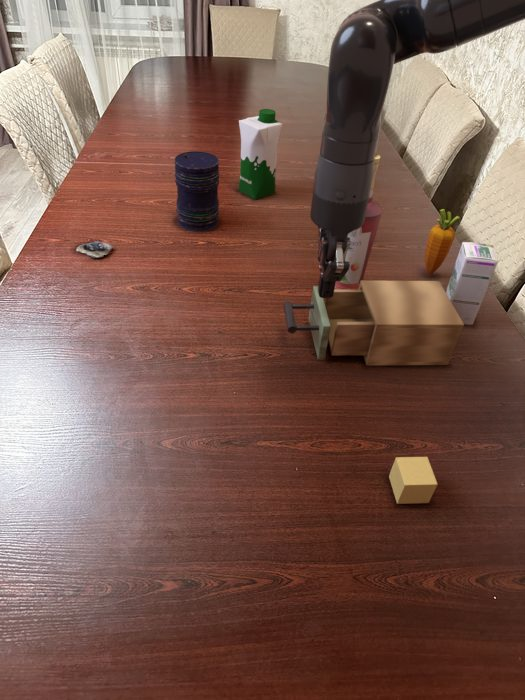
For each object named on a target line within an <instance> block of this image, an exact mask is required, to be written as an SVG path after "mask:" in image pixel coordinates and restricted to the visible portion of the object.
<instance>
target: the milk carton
mask: <svg viewBox="0 0 525 700" xmlns="http://www.w3.org/2000/svg"><path fill="white" fill-rule="evenodd" d="M276 115H277V114H276V110H273V109H270V108H262V109H260V110H259V111H258V115H256V116H250V117H246V118H243V119H240V120H238V125H239V133H240V166H239V168H240V169H239V170H240V171H239V180H238V186H237V187H238V188H237V190H238V191H239V192H241V193H242V194H244V195H246V196H248V197H249V198H251V199H253V200H254V201H256V200H259V199H262V198H265V197H268V196H271V195H274V194H276V175H277V174H276V171H277V162H278V161H277V160H278V159H277V158H278V147H279V140H280V136H281V131H282V128H283V123H282V122H280V121H278V120H276Z"/></svg>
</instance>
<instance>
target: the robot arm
mask: <svg viewBox="0 0 525 700" xmlns="http://www.w3.org/2000/svg"><path fill="white" fill-rule="evenodd" d="M524 20H525V0H377V1H374V2H372V3H369V4H367V5H365V6H363V7H361V8H358V9H357V10H355V11H353V12H351V13H350V14H349V15H348V16H347V17H345V18H344V19H343V20H342V22H341V23H340V25H339V26H338V28H337V30H336V33H335V35H334V37H333V40H332V42H331V46H330V52H329V59H328V70H327V72H328V73H327V84H326V86H327V87H326V110H325V115H324V119H323V124H322V129H321V130H322V131H321V138H320V147H319V154H318V159H317V163H316V167H315V172H314V181H313V189H312V198H311V205H310V213H309V214H310V217H309V218H310V219H311V221H312V223H313V224H314V225H315V226H316V227H317V228H318V235H317V236H318V237H317V238H318V243H317V244H318V245H317V246H318V248H317V254H318V256H317V260H318V263H319V266H318V270H319V272H320V273H319V280H318V285H317V286H318V293H319V297H321V298H323V299H326V298H331V297H333V294H334V288H335V282H336V281H341V280H342V278H343V277H344V276H345V274H346V273H347V271H348V270H349V267H350V264H349V262H346V261H345V258H346V253H347V251H348V250H349V247H350V237H348V234H349V233H350V232H352V231H354V230H357V229H359V228H360V227H361V226H362V225H363V224H364V221H365V216H366V210H367V205H368V200H369V195H370V190H371V185H372V180H373V172H374V159H375V154H377V150H378V149H377V148H378V143H379V138H380V131H381V124H382V123H381V122H382V112H383V110H384V105H385V102H386V98H387V94H388V91H389V86H390V81H391V77H392V73H393V69H394V65H396V64H399V63H401V62H404V61H406V60H409V59H412V58H414V57H416V56H419V55H422V54H425V53H426V54H427V53H428V54H431V55H435V54H441V53H444V52H448V51H450V50H453V49H456V48H457V47H460V46H463V45H465V44H468V43H470V42H473V41H475V40H478V39H480V38H483V37H485V36H488V35H490V34H492V33H495V32H497V31H501V30H503V29H505V28H507V27H510V26H511V25H514V24H517V23H519V22H522V21H524Z"/></svg>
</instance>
